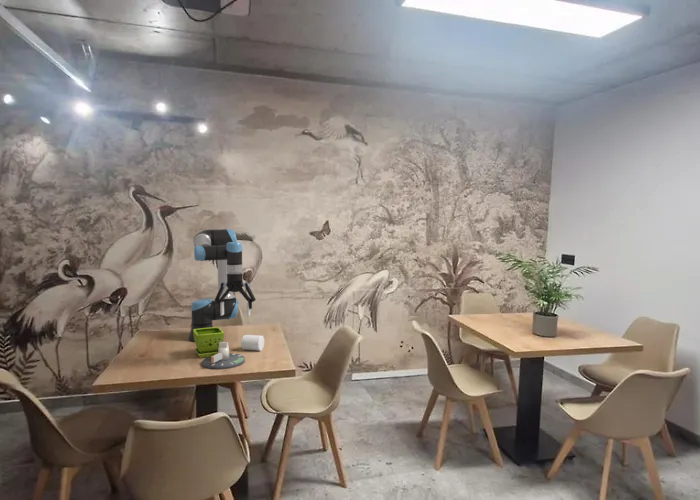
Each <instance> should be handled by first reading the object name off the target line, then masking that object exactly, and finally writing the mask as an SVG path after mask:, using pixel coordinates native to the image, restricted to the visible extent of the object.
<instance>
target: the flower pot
mask: <svg viewBox="0 0 700 500" xmlns="http://www.w3.org/2000/svg"><path fill="white" fill-rule="evenodd" d="M198 334H199V335H198ZM193 335H194V340H195V342H194V343H195V346H196V348H195V352H196V353H197V355H198V358H203V359H204V358H207V357H209V356H213V355H216V354H218V347H219V342H224V339H225V338H224V337H225V332H224V330H223V329H222V328H221V327H219V326H213V327H210V328H200V329H193Z"/></svg>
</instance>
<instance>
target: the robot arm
mask: <svg viewBox="0 0 700 500" xmlns="http://www.w3.org/2000/svg"><path fill="white" fill-rule="evenodd" d="M192 243H193V246H194V247H193V248H194V249H193V254H194V260H195V261H197V262H204V261H205V262H206V261H217V294H216V296H215V298H214V300H213V299H212V298H210V297H207V298H201V299H197V300H194V301H193V302H192V303H191V309H190V311H191V328H190V332H189V334H188V340H189V341H190V342H194V343H195V340H194V335H193V329H200V328H210V327H214V326H213V321H221V320H231V319H233V320H234V319H236V317H238V316H237V315H238V312H239V300H238V299H237V298H236V295H235V294H234V292H235V293H238V292H239V294H240V295H241V296H243V298H244V299H245V300H246V301H247V302H246V317H250V316H251V310H252V309H253V302H255V301H256V300H257V299H256V297H255V295H254V293H253V291H252V289H251V287H250V283H249V282H243V280H244V279H243V277H244V276H243V275H244V274H243V244H242V242H241V241H238V240H237V234H236V232H235V230H234V229H227V228H225V229H204V230H201V231H199V232H198V233H196V234H195V235H194V236H193V241H192ZM243 287H244V288H245V289H244V288H243ZM245 290H246V291H245ZM198 335H199V334H198Z"/></svg>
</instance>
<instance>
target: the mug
mask: <svg viewBox="0 0 700 500" xmlns="http://www.w3.org/2000/svg"><path fill="white" fill-rule="evenodd" d="M240 343H241V344H240V345H241V349H242V350H245V351H258V352H261V351H263V349H264V346H265V337H264V335H258V334H257V335H254V334H244V335H243V336H242V338H241V341H240Z"/></svg>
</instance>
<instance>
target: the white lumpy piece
mask: <svg viewBox="0 0 700 500" xmlns="http://www.w3.org/2000/svg"><path fill="white" fill-rule="evenodd" d="M229 353H230V346H229V342H225V341H223V342H219V347H218V354H216V355H214V356H211V363H215V362H217V361H219V360H220V361H225V360H228V359H229Z"/></svg>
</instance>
